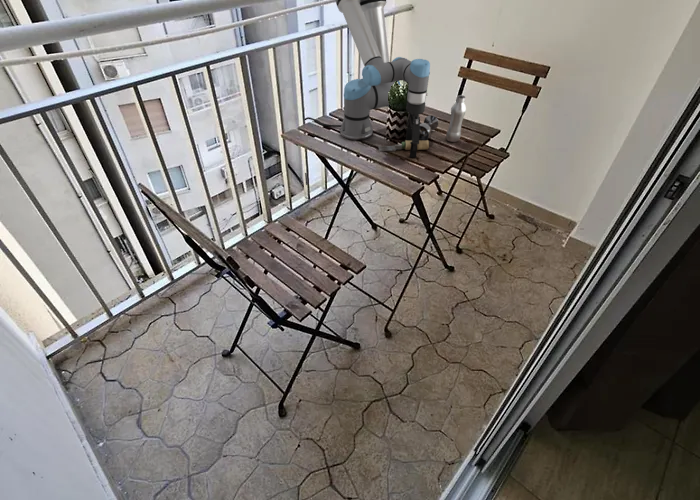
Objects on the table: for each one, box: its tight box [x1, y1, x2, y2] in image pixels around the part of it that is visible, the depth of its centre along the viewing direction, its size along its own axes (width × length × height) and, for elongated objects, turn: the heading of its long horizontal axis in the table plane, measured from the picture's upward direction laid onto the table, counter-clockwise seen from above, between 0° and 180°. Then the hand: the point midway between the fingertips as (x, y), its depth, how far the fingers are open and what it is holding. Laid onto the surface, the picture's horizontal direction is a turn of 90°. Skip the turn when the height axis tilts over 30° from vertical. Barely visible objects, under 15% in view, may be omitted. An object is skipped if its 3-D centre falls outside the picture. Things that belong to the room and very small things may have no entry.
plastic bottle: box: [445, 94, 467, 143], centre depth 172 cm, size 6×7×20 cm
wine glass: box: [419, 114, 439, 140], centre depth 179 cm, size 8×8×15 cm
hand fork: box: [378, 139, 430, 152], centre depth 171 cm, size 22×4×4 cm, turn 91°
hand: (410, 149), depth 172 cm, fingers open, 13 cm apart
